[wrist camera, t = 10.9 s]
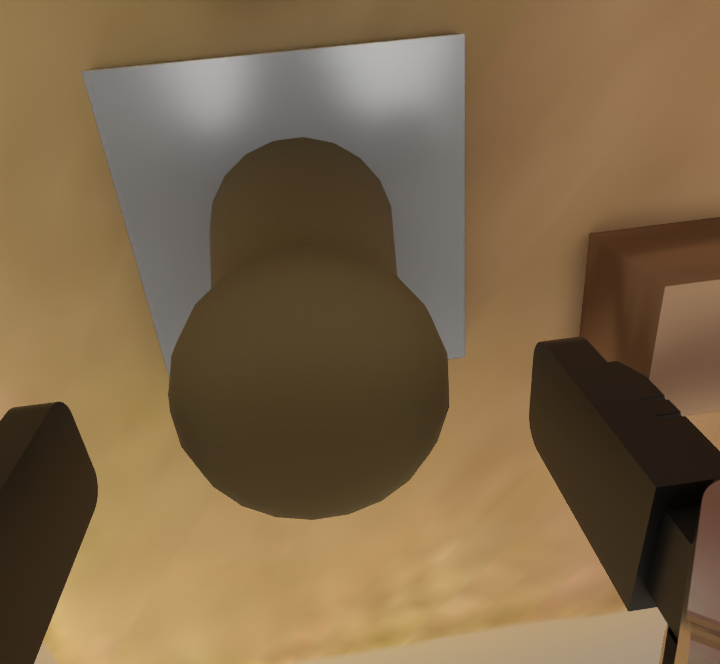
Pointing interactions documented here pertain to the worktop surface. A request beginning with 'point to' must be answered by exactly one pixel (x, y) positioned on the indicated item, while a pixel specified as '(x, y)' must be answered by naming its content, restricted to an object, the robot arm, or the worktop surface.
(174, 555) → the worktop surface
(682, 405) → the walnut block
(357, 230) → the brown rounded figure
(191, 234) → the slate tile
